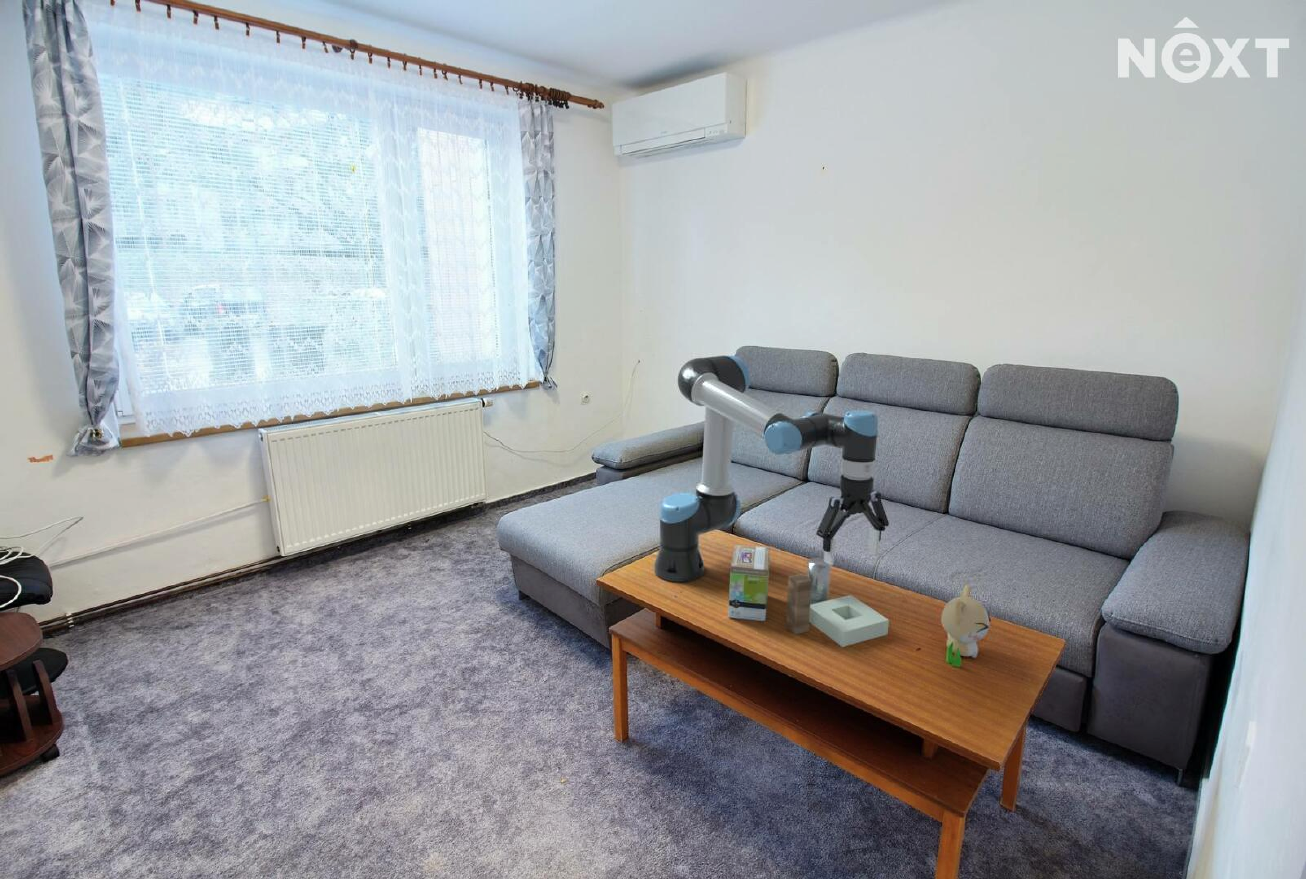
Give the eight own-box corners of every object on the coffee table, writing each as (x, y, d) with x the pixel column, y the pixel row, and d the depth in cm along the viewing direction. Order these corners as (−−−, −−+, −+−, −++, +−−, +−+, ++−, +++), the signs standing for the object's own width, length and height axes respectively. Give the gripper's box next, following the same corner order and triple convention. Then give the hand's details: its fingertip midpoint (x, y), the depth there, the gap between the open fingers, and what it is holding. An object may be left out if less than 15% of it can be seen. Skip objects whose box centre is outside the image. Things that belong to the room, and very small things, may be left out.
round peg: (801, 600, 170) (803, 559, 167) (818, 596, 172) (821, 556, 169) (814, 609, 164) (817, 568, 162) (832, 605, 167) (835, 564, 164)
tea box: (766, 622, 159) (768, 569, 155) (727, 618, 160) (728, 566, 157) (768, 594, 173) (770, 545, 169) (732, 591, 175) (733, 543, 171)
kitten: (978, 675, 136) (986, 614, 132) (930, 660, 142) (937, 601, 138) (990, 645, 148) (998, 588, 144) (945, 632, 153) (951, 576, 150)
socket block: (806, 619, 160) (807, 605, 159) (849, 608, 165) (850, 594, 164) (842, 647, 147) (843, 632, 146) (887, 634, 152) (888, 619, 152)
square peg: (785, 626, 156) (788, 576, 153) (799, 623, 158) (801, 573, 154) (795, 634, 153) (798, 583, 149) (808, 631, 154) (811, 580, 151)
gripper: (824, 486, 139) (819, 573, 144) (909, 473, 148) (901, 555, 153) (804, 477, 145) (799, 560, 150) (886, 465, 155) (879, 544, 160)
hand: (851, 558), depth 152 cm, fingers open, 13 cm apart
